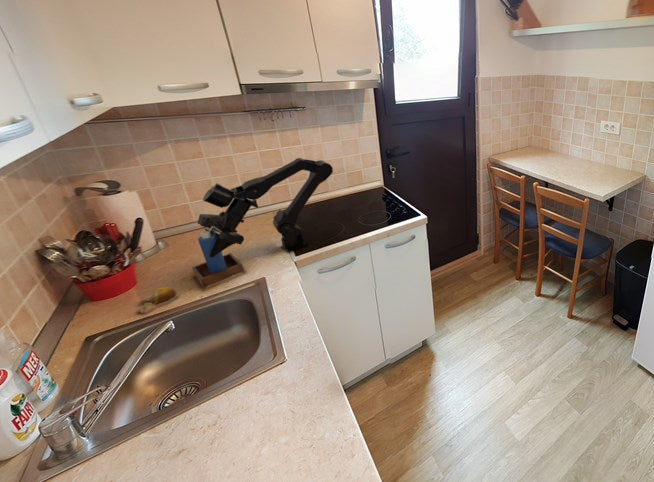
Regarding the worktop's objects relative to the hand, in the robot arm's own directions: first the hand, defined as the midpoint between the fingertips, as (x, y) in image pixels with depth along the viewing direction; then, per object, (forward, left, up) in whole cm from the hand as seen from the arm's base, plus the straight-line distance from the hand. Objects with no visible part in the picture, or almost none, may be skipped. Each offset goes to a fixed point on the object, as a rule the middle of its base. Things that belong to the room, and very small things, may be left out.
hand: (207, 254), depth 112 cm
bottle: (-1, 0, -7) cm, 7 cm away
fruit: (+16, +1, -9) cm, 18 cm away
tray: (-1, 0, -9) cm, 9 cm away
